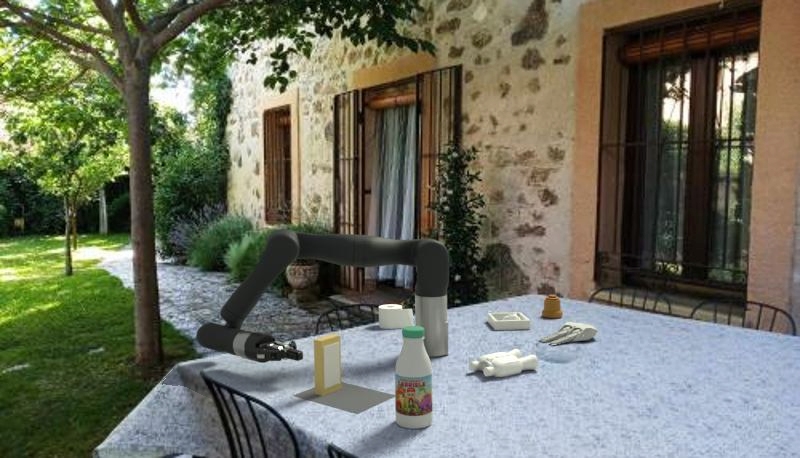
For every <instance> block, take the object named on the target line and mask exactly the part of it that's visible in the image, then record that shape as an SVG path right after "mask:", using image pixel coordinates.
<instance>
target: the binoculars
mask: <svg viewBox="0 0 800 458" xmlns="http://www.w3.org/2000/svg"><path fill="white" fill-rule="evenodd" d="M522 354H523V353H521V351H520V349H517V348H514V349H512V350H511V351H507V352H505V351H500V352H499V351H498V352H493V353H488V354H485V355H482V356H480V357H479V358H478V359H477V360H474V361H471V362H469V364H468V366H469V369H470V370H471V371H472V372H474V371H477V370H479V371H481V372H483V375H484V376H485V377H496V378H505V377H510V376H513V375H514V376H515V375H519V374H520V373H521V372H522V371H526V370H532V371H534V370H537V369H538V368H539V359H538V358H537V356H536V355H535V354H529V355H528V356H524V357H523V355H522Z"/></svg>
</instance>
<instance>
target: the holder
mask: <svg viewBox="0 0 800 458" xmlns="http://www.w3.org/2000/svg"><path fill="white" fill-rule="evenodd" d="M511 313H512V312H487V316H486V317H487V321H486V322H487V323H488V324H489V325H490V326H491V327H492V329H493V330H494V331H510V330H511V331H514V330H521V331H522V330H531V320H530V319H529V318H528V317H527V316H526V315H525V314H524V313H522V312H521V311H520V312H514V313H516V314H517V316H518V317H520V319H521V320H503V319H504V318H503V317H505V316H508V315H510V314H511Z"/></svg>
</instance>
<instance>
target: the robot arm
mask: <svg viewBox="0 0 800 458" xmlns="http://www.w3.org/2000/svg"><path fill="white" fill-rule="evenodd" d="M309 259H310V260H319V261H322V262H326V263H330V264H334V265H337V266H338V265H339V266H344V267H351V268H377V267H383V266H384V267H385V266H391V265H398V266H399V265H400V266H409V267H413V268H414V267H415V268H416V272H417V273H416V283H415V287H414V301H415V302H414V305H415V307H414V309H415V310H414V312H415V313H414V314H415V316H414V318H415V320H414V321H415V325H414V326H420V327H423V328H424V339H423V343H424V347H425V350H426V352H427V354H428V356H429V358H430V357H432V358H433V357H434V358H435V357H441V356H446V355H447V356H448V355H449V321H448V287H449V282H450V281H449V278H450V257H449V251H448V248H447V246H445V244H444V243H442V242H441V241H439V240H436V239H434V238H417V239H393V238H388V237H384V236H383V237H382V236H375V235H367V234H355V233H354V234H352V233H344V234H343V233H324V234H323V233H310V232H305V231H304V232H303V231H298V230H292V229H287V228H285V229H284V228H281V229H277V230H274V231H273V232H271V233H270V235H268V237H267V240H266V243H265V248H264V250H263V252H262V254H261V256H260V258H259V260H258V262H257V264H256V265H255V267H254V268H253V269H252V270H251V272H250V273H249V275H248V276H247V277H246V278H245V279H244V280H243V281H242V282H241V283H240V284H239V286H237V288H236V289H235V290H234V291H233V292H232V294H231V295H230V296H229V298H228V299H227V301H226V302H225V303H224V305H223V306H222V307H221V309H220V312H219V314H220V317H221V318H222V319H223V320H224V321H225V324H224V325H222V324H218V323H216V322H206V323H204V324H202V325H201V326H199V328H198V330H197V331H196V336H195V337H196V342H197V343H198V345H200V346H201V347H202V348H205V349H207V350H211V351H215V352H218V353H227V354H230V355H233V356H235V357H240V358H242V359H244V360H249V361H254V362H257V363H260V364H261V363H262V364H264V363H265V364H266V363H268V362H281V361H282V360H284V361H287V360H292V361H296V362H299V361H301V360H303V359H304V352H303V350H299V349H297V346H298V345H297V343H296V341H295V340H291V341H290V342H288V343H285V342H282V341H280V340H276V338H275V337H274V336H273V335H272V334H269V333H267V332H266V333H265V332H262V331H256V330H248V329H246V330H245V329H242V326H243V324H244V321H245V320H246V319H247V317H248V316H249V315H250V313H251V312H252V311H253V310H254V308H255V307H256V305H258V303H259V301H260V300H261V298H262V297H263V295H264V294H265V292H266V291H268V288H269V287H270V286H271V285H272V284H273V282H274V281H275V280H276V279H277V278H278V277H279V276H280V275H281V274H282V273H283V272H284V271H285V270H286V269H287V268H288V267H289V266H290V265H291V264H292V263H293V262H294V261H295V260H309Z"/></svg>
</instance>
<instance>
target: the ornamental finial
mask: <svg viewBox="0 0 800 458" xmlns="http://www.w3.org/2000/svg"><path fill="white" fill-rule="evenodd" d="M561 307H562V306H561V299H560V298H559V296H557V294H548V295H547V296H546V297H545V298H544V299H543V309H542V311H541V315H542V317H544V318H545V319H560V318H562V317H563V315H564V312H563V310H562V309H561Z"/></svg>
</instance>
